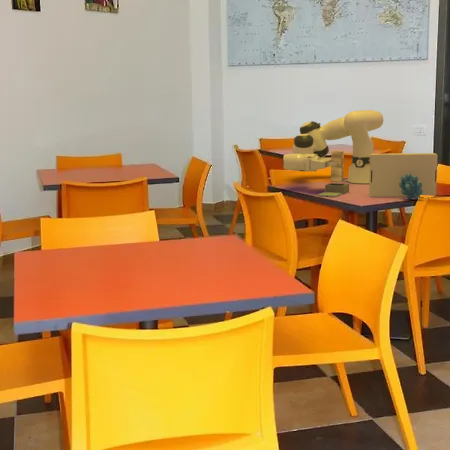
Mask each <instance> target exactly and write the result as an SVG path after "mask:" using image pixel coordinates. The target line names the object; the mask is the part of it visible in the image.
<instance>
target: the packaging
mask: <svg viewBox="0 0 450 450" xmlns="http://www.w3.org/2000/svg"><path fill="white" fill-rule="evenodd" d="M438 156H439V155H438V154H437V153H434V152H427V153H426V152H425V153H424V152H423V153H422V152H420V153H419V152H418V153H417V152H415V153H413V152H412V153H411V152H408V153H405V152H404V153H373V154H370V169H369V183H368V196H369V197H370V198H407V195H403V194H402V192H401V190H402V188H400V186H399V183H400V182H402V181H401V177H402V176H405V177H406V174H408V173H409V174H411V175H412V176H414V175H415V176H417V177H418V181H419V182H421V183H422V187H421V188H420V189H422V191H423V193H422V195H434V196H436V197H437V182H438V181H437V178H438ZM418 181H417V182H418ZM419 196H420V195H419Z"/></svg>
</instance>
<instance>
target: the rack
mask: <svg viewBox="0 0 450 450" xmlns="http://www.w3.org/2000/svg"><path fill="white" fill-rule="evenodd" d="M324 192H332V193H342V195H345V194H347V192H348V193H350V183H342V182H329V183H326V184H325V185H324ZM344 193H345V194H344Z"/></svg>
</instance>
